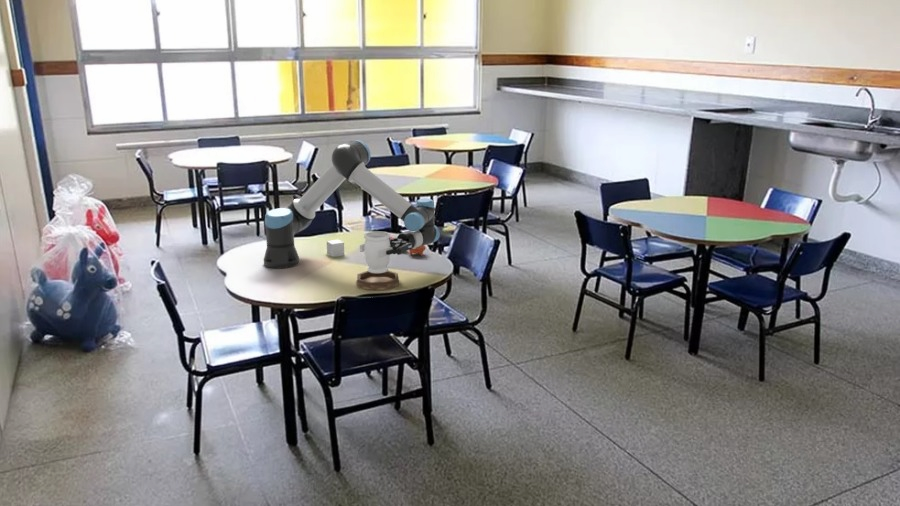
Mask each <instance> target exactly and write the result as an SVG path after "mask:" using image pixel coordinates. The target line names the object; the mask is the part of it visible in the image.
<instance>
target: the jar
mask: <svg viewBox="0 0 900 506" xmlns="http://www.w3.org/2000/svg"><path fill="white" fill-rule="evenodd" d="M363 237H364V239H365V241H364V244H365V245H364V251H363V252H364V258H365V261H366V264H367V267H368V268H367V271H368V272H370V273H384V272H387V271H389V267H388V266H389V263H390V257H391V255H387V256H384V257H381V258H379V250H383V249H386V248H390V241H389V238H390V237H391V234H390V233H389V232H387V231H370V232H366V233H365V234H364V235H363Z"/></svg>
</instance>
